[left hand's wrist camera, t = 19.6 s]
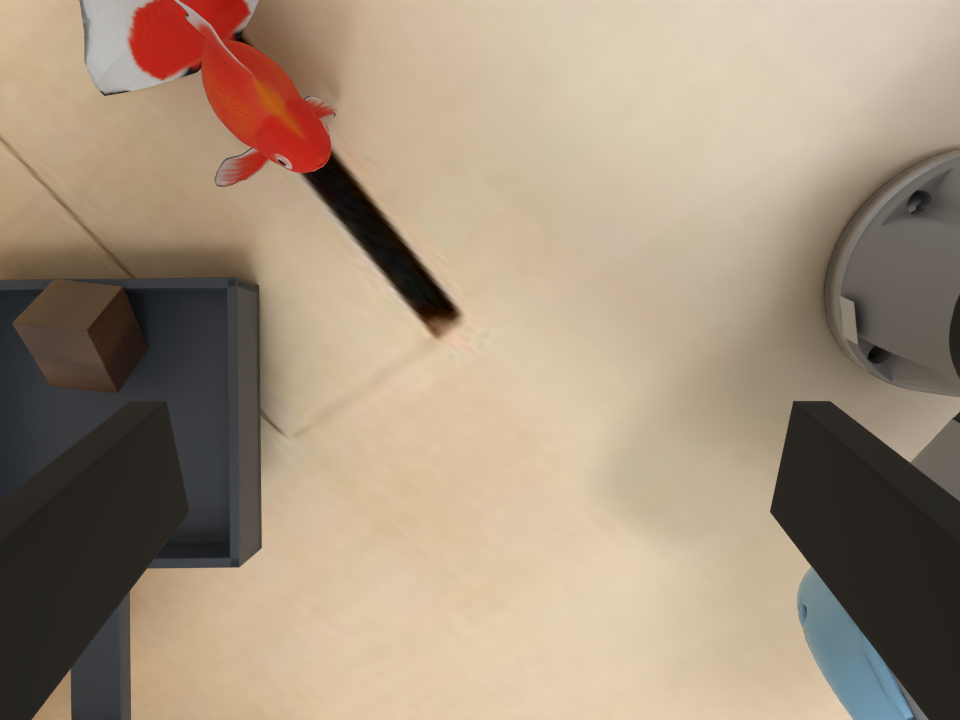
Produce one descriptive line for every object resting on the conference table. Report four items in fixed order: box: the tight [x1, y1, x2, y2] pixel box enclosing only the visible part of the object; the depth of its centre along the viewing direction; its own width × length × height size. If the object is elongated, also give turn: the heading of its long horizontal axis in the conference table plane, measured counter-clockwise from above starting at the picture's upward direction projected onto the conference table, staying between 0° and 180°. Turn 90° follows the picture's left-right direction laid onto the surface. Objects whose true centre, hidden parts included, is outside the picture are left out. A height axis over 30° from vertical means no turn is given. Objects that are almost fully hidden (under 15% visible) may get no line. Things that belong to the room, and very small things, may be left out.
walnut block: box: [12, 279, 148, 393], centre depth 35 cm, size 4×4×5 cm
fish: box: [80, 0, 336, 187], centre depth 30 cm, size 11×16×10 cm
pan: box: [0, 278, 262, 720], centre depth 34 cm, size 17×29×9 cm, turn 1°
